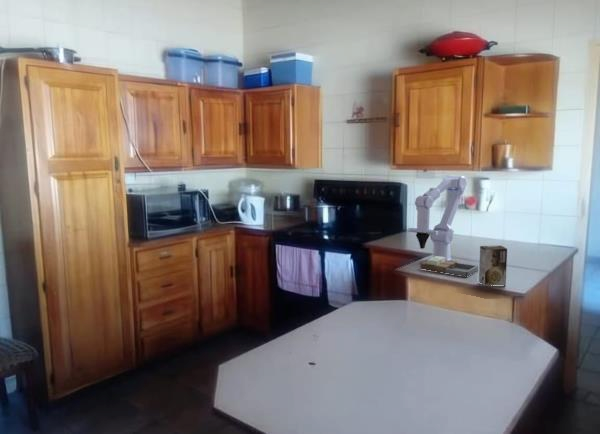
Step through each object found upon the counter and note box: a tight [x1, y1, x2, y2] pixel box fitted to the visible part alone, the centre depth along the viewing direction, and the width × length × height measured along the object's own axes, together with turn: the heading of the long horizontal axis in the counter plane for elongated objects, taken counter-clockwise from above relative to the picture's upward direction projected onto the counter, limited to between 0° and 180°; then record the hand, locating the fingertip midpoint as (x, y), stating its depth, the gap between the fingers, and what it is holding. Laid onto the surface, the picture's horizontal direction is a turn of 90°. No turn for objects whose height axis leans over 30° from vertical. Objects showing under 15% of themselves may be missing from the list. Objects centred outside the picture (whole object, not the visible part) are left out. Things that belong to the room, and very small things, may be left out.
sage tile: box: [426, 257, 441, 265], centre depth 223 cm, size 4×4×2 cm
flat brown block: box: [420, 260, 458, 273], centre depth 225 cm, size 14×12×3 cm
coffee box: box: [478, 245, 508, 287], centre depth 198 cm, size 9×6×16 cm
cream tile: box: [432, 256, 445, 263], centre depth 227 cm, size 4×4×2 cm
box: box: [446, 262, 479, 278], centre depth 218 cm, size 14×10×2 cm
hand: (422, 248), depth 232 cm, fingers closed
